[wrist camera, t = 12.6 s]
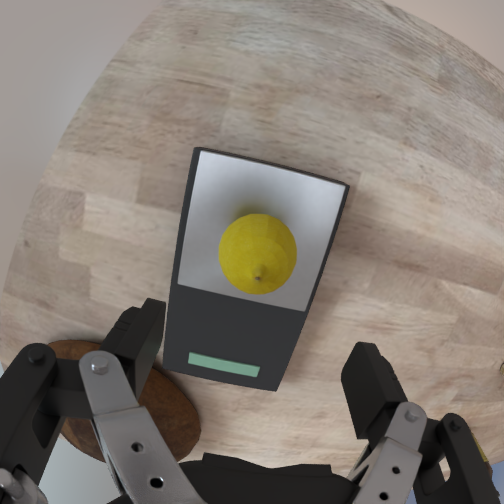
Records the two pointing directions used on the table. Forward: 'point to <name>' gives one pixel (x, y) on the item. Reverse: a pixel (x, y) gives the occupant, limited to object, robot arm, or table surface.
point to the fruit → (257, 253)
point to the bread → (152, 397)
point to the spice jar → (502, 369)
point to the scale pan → (257, 202)
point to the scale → (231, 320)
